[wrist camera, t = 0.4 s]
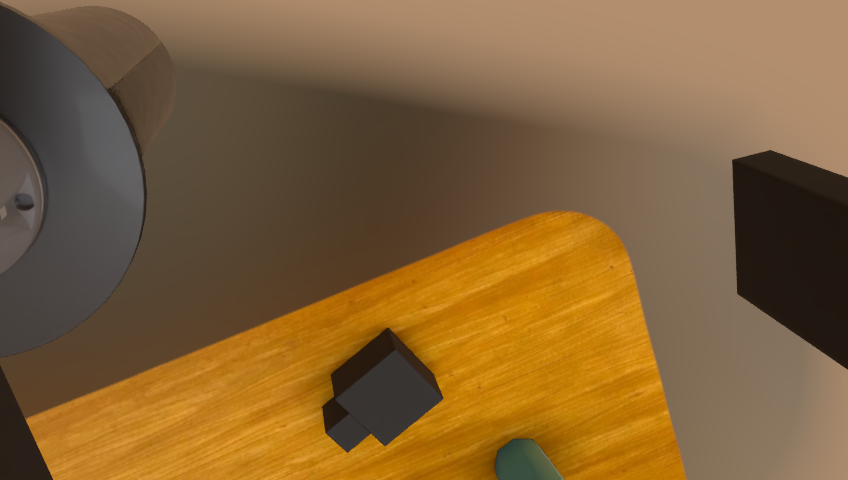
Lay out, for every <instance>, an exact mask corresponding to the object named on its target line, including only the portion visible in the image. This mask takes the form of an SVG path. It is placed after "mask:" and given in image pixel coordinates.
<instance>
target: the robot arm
mask: <svg viewBox="0 0 848 480" xmlns="http://www.w3.org/2000/svg"><path fill="white" fill-rule="evenodd" d="M732 165H733V192H734V215H735V216H734V218H735V243H736V271H737V293H738V295H740V296H741V297H743V298H744V299H746V300H747V301H749V302H750V303H752V304H753V305H755V306H756V307H757V308H759V309H760V310H762V311H763V312H765V313H766V314H768V315H769V316H771V317H772V318H774V319H775V320H776V321H778V322H779V323H781V324H782V325H784V326H786V327H787V328H788V329H789V330H791V331H792V332H794V333H795V334H797V335H798V336H800V337H801V338H803V339H804V340H805V341H807V342H809V343H810V344H811V345H813V346H814V347H816V348H817V349H819V350H820V351H821V352H823V353H825V354H826V355H827V356H829V357H830V358H832V359H833V360H835V361H836V362H837V363H839V364H840V365H842V366H843V367H845V368H846V369H848V177H845V176H842V175H839V174H836V173H833V172H830V171H828V170H825V169H822V168H819V167H817V166H814V165H811V164H808V163H805V162H802V161H800V160H797V159H794V158H791V157H788V156H786V155H783V154H780V153H777V152H774V151H771V150H769V151H766V152H762V153H757V154H753V155H749V156H746V157H742V158H738V159H734V160H732ZM46 211H47V185H46V180H45V175H44V172H43V169H42V166H41V164H40V161H39V159H38V157H37V155H36V153H35V152H34V150H33V148H32V146H31V145H30V144H29V142H28V141H27V139H26V138H25V137H24V136H23V134H22V133H21V132H20V131H19V130H18V129H17V128H16V127H15V126H14V125H13V124H12V123H11V122H10V121H9V120H8V119H6V118H5V117H4V116H3V115H1V114H0V274H1V273H3V272H5V271H6V270H8V269H9V268H10V267H12V266H13V265H14V264H15V263H16V262H17V261H19V260H20V259H21V258H22V257H23V255H24V254H25V253H26V252H27V251H28V249H29V248H30V247H31V246H32V245H33V243H34V242H35V240H36V238H37V237H38V235H39V233H40V231H41V229H42V226H43V223H44V220H45V216H46ZM0 480H53V478H52V476H51V474H50V472H49V470H48V468H47V465H46V463H45V461H44V459H43V457H42V455H41V452H40V450H39V448H38V446H37V444H36V442H35V439H34V437H33V435H32V433H31V431H30V429H29V427H28V424H27V422H26V420H25V418H24V416H23V414H22V411H21V410H20V407H19V405H18V403H17V401H16V398H15V396H14V394H13V392H12V390H11V388H10V386H9V383H8V381H7V379H6V377H5V375H4V373H3V370H2V368H1V366H0Z"/></svg>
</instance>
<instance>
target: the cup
mask: <svg viewBox="0 0 848 480" xmlns="http://www.w3.org/2000/svg"><path fill="white" fill-rule="evenodd" d="M495 471H496V475H497V478H498V480H564V479H563V477H562V476H561V475H560V473H559V472H558V471H557V469H556V468H555V467H554V465H553V464H552V463H551V461H550V460H549V459H548V457H547V456H546V455H545V453H544V452H543V451H542V449H541V448H540V447H539V446H538V445H537V444H536V443H535V441H534V440H533V439H513V440H512V441H510V442H509V443H508V444H506V445H505V446H504V447H503V448H501V449H500V450H499V451H498V453H497V458H496V463H495Z"/></svg>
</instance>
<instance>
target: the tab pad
mask: <svg viewBox="0 0 848 480" xmlns="http://www.w3.org/2000/svg"><path fill="white" fill-rule="evenodd" d="M331 378H332V384H333V391H334V397H333V398H332V399H331V400H330V401H329V402H327V403H326V404H325V405H324V406H323V407H322V408H323V416H324V424H325V432H326V434H327V435H328V436H329V437H330V438H332V439H333V440H334V441H335V442H336V443H337V444H338V445H339V446H340V447H342V448H343V449H344V450H345V451H346V452H347V453H348V452H349V451H350V450H351V449H353V448H354V447H355V446H356V445H358V444H359V443H360V442H361V441H362V440H364V439H365V438H366V437H367V436H369V435H370V434H372V435H373V436H374V437H375V438H377V439H378V440H379V441H380V442H381V443H382V444H383V445H384V446H386V445H387V444H389V443H390V442H391V441H392V440H393V439H395V438H396V437H397V436H398V435H400V434H401V433H402V432H403V431H405V430H406V429H407V428H408V427H409V426H411V425H412V424H413V423H414V422H416V421H417V420H418V419H419V418H421V417H422V416H423V415H424V414H425V413H427V412H428V411H429V410H430V409H432V408H433V407H434V406H435V405H437V404H438V403H439V402H440V401H441V400H443V396H442V394H441V391H440V389H439V386H438V384H437V381H436V379H435V377H434V374H433V373H432V372H431V371H430V370H429V369H428V368H427V367H426V366H425V365H424V364H423V363H422V362H421V361H420V360H419V359H418V358H417V357H416V356H415V355H414V354H413V353H412V352H411V351H410V350H409V349H408V348H407V347H406V346H405V345H404V344H403V342H402V341H401V340H400V339H399V338H398V337H397V336H396V335H395V334H394V333H393V332H392V331H391V330H390V329H389V328H387V329H386V330H385V331H383V332H382V333H381V334H380V335H379V336H377V337H376V338H375V339H374V340H373V341H371V342H370V343H369V344H368V345H367V346H365V347H364V348H363V349H362V350H360V351H359V352H358V353H357V354H356V355H354V356H353V357H352V358H351V359H350V360H348V361H347V362H346V363H345V364H344V365H342V366H341V367H340V368H339V369H337V370H336V371H335V372H334V373H333V374H331Z"/></svg>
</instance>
